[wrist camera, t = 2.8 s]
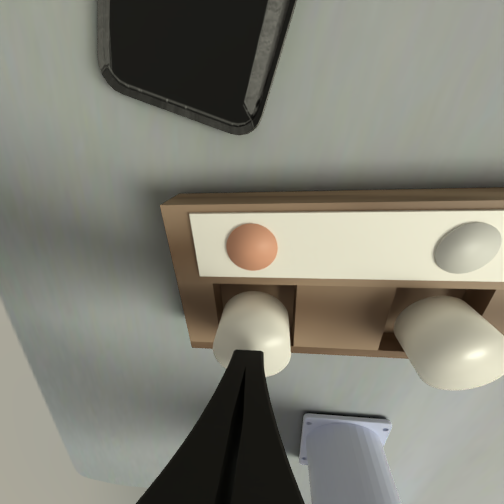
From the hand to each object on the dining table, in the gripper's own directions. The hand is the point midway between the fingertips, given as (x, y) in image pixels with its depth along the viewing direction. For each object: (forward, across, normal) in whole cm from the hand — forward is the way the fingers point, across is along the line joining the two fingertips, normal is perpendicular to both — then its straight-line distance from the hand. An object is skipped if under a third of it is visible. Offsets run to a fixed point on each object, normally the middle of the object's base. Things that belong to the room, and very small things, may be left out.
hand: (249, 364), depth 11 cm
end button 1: (+3, 0, 0) cm, 3 cm away
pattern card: (+3, -10, -5) cm, 12 cm away
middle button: (+3, -10, 0) cm, 10 cm away
